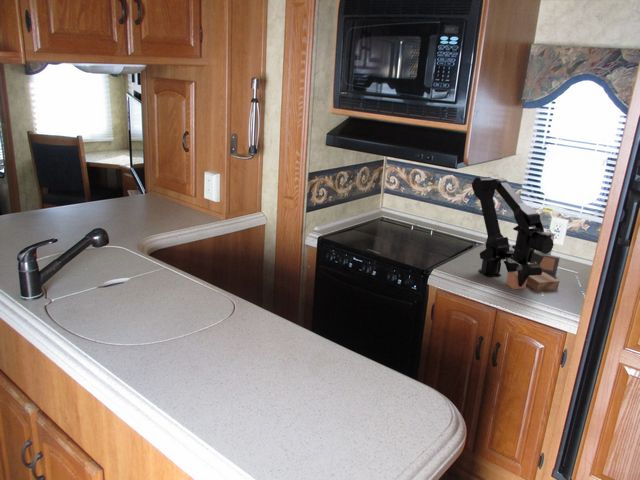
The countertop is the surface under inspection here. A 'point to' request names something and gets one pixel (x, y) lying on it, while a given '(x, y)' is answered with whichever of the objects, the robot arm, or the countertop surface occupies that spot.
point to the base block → (542, 282)
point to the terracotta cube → (514, 280)
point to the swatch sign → (549, 265)
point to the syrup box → (550, 232)
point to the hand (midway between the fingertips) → (516, 283)
